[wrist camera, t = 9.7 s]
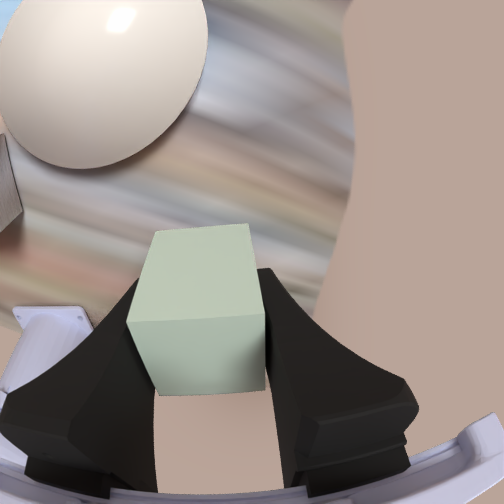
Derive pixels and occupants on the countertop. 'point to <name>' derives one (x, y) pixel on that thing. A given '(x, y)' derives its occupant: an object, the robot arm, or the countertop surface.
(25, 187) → the countertop surface
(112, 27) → the cream round disc
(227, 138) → the countertop surface
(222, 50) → the countertop surface
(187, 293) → the block
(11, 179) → the grey square block
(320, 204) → the countertop surface
